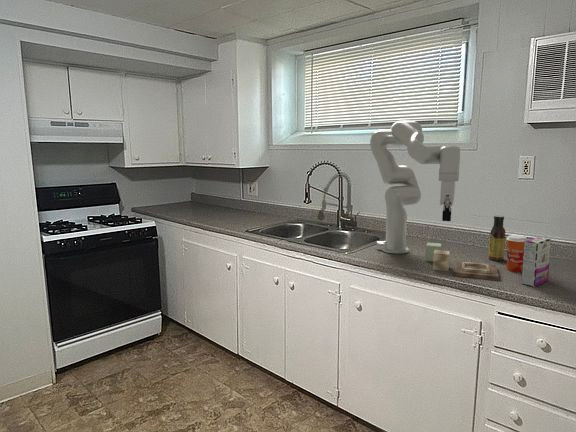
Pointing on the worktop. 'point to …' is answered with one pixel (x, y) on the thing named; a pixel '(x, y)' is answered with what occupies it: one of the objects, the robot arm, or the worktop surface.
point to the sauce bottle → (497, 239)
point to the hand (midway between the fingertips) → (446, 219)
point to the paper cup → (515, 252)
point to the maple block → (441, 260)
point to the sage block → (431, 250)
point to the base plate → (475, 270)
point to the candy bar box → (536, 261)
